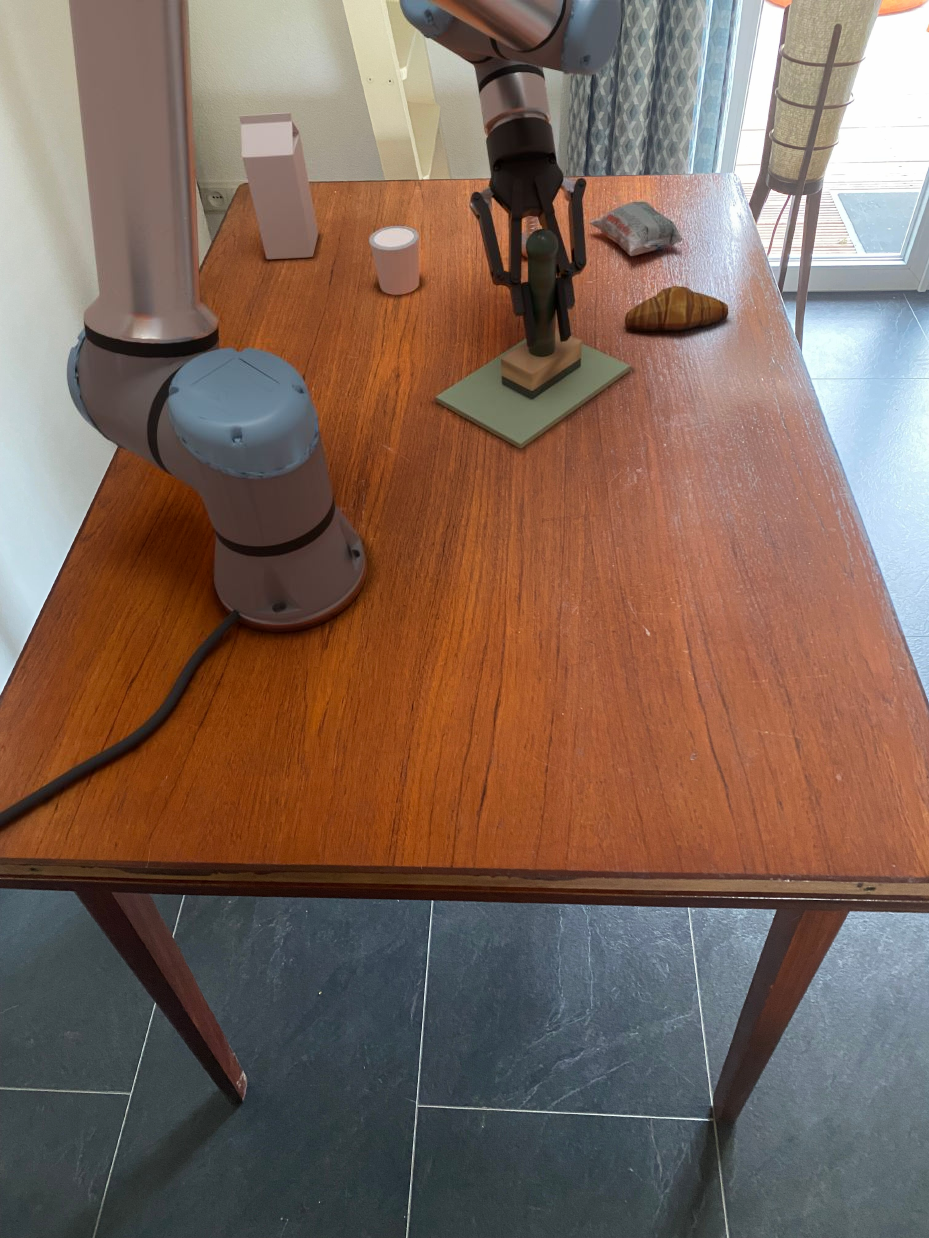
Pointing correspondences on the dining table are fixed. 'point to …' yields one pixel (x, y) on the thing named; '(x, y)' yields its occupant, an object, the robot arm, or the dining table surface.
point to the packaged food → (638, 228)
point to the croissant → (676, 311)
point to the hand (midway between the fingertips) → (549, 340)
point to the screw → (528, 231)
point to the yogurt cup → (396, 258)
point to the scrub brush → (541, 327)
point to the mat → (519, 414)
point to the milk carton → (279, 185)
